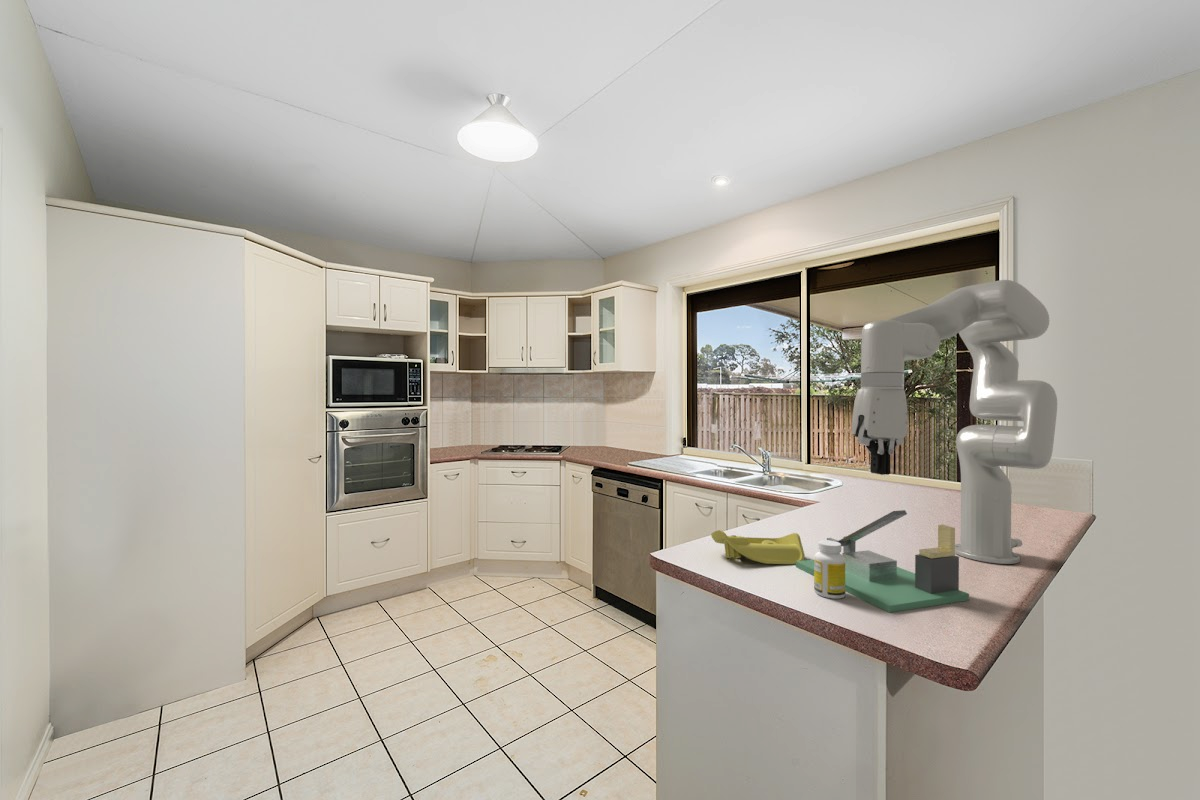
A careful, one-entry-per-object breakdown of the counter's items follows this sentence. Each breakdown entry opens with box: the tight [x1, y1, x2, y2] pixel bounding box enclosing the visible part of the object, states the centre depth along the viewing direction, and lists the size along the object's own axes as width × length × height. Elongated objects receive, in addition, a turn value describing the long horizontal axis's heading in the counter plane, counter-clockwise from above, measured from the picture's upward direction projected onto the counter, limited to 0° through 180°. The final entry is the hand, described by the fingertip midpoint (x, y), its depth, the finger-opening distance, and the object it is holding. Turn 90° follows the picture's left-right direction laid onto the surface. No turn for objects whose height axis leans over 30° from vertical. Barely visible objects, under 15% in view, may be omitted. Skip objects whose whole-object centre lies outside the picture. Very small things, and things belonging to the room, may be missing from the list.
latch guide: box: [914, 553, 960, 594], centre depth 92 cm, size 7×3×6 cm, turn 107°
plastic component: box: [710, 529, 806, 565], centre depth 113 cm, size 20×7×10 cm
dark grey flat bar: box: [838, 509, 908, 547], centre depth 100 cm, size 3×18×1 cm
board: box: [795, 535, 970, 613], centre depth 98 cm, size 19×24×6 cm
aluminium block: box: [841, 550, 898, 581], centre depth 100 cm, size 7×7×4 cm
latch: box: [918, 524, 956, 559], centre depth 92 cm, size 6×2×5 cm, turn 107°
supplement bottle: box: [813, 539, 846, 600], centre depth 92 cm, size 5×5×10 cm
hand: (880, 473), depth 97 cm, fingers closed
